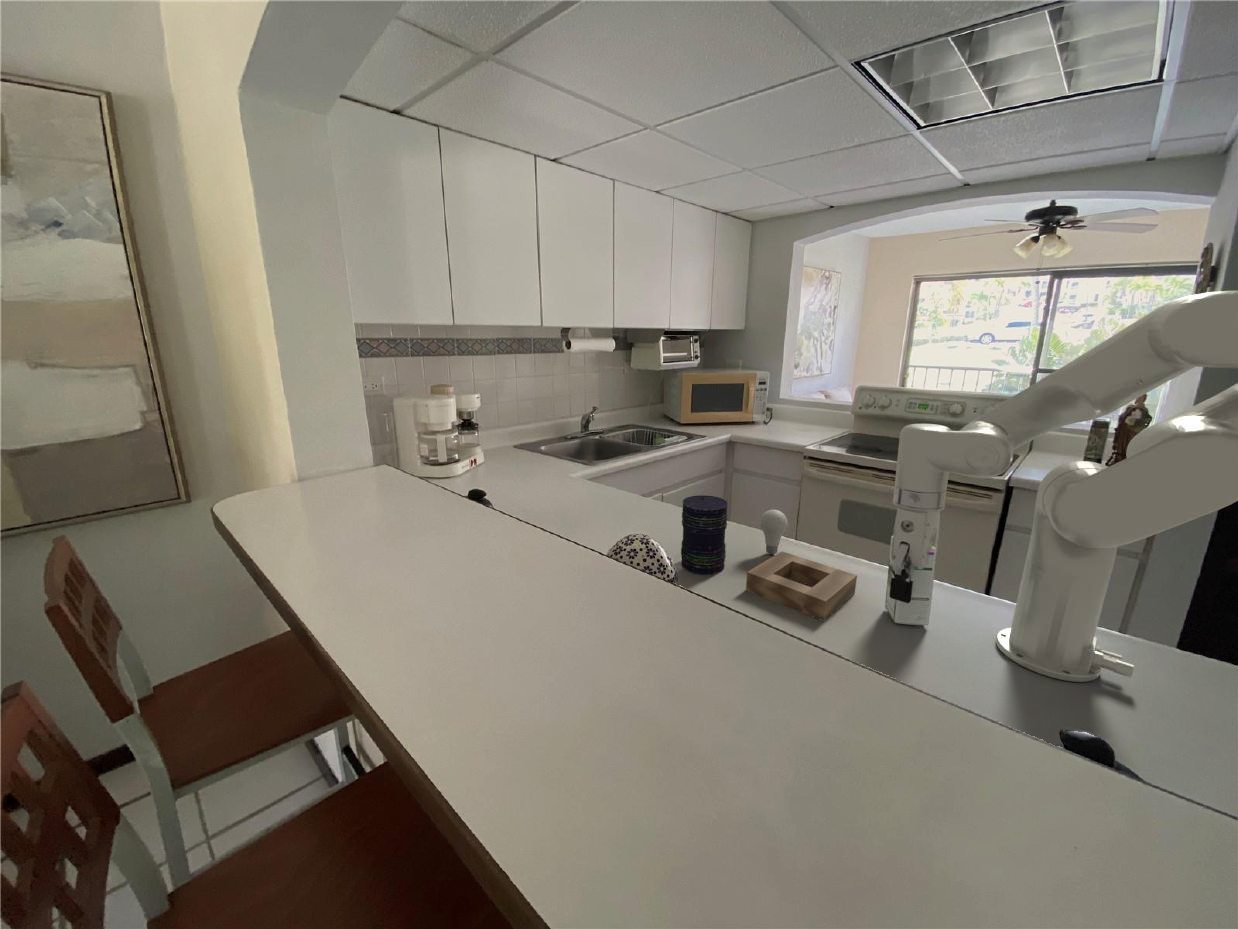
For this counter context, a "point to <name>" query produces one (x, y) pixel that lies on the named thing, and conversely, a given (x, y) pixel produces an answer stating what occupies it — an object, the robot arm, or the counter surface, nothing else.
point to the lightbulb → (773, 529)
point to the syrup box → (913, 593)
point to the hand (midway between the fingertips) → (908, 590)
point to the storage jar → (704, 534)
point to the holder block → (815, 601)
